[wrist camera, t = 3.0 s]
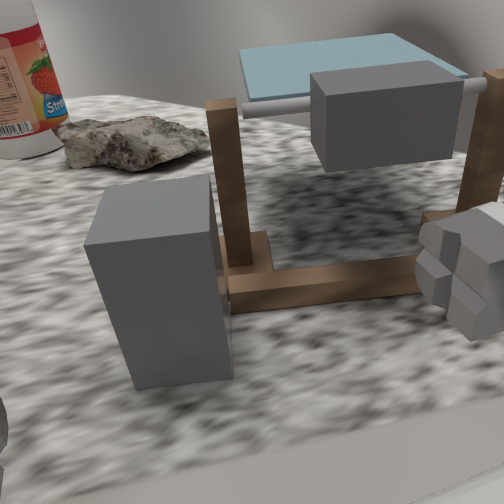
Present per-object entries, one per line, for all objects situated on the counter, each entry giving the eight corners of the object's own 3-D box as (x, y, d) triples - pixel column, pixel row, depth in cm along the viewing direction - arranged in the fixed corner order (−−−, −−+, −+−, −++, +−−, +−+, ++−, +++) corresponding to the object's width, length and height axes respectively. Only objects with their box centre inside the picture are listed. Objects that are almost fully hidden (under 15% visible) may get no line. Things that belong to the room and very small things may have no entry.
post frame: (211, 316, 27) (178, 139, 21) (211, 246, 33) (185, 91, 27) (533, 279, 28) (597, 93, 21) (476, 216, 34) (513, 55, 27)
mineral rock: (218, 148, 48) (212, 105, 45) (182, 184, 42) (172, 137, 40) (101, 139, 53) (90, 100, 50) (54, 170, 47) (38, 128, 45)
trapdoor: (252, 180, 22) (244, 104, 20) (235, 79, 37) (230, 30, 35) (524, 150, 22) (545, 71, 20) (395, 62, 38) (399, 12, 36)
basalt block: (136, 390, 24) (83, 245, 18) (146, 321, 28) (106, 186, 22) (233, 378, 24) (209, 231, 18) (230, 311, 28) (209, 175, 22)
